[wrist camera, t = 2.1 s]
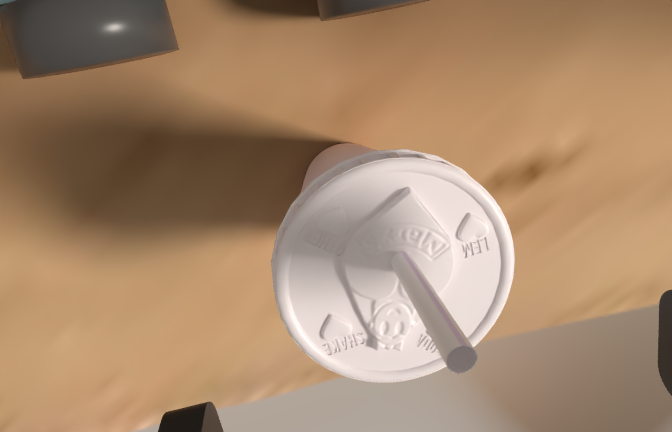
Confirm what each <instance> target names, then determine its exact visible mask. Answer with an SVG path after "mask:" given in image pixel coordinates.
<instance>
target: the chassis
mask: <svg viewBox="0 0 672 432" xmlns="http://www.w3.org/2000/svg"><path fill="white" fill-rule="evenodd" d="M425 1H429V0H317V3H318V9H319V14H320V19H321V21H327V20H335V19H341V18H347V17H353V16H358V15H363V14H369V13H374V12H379V11H384V10H388V9H393V8H398V7H403V6H407V5H412V4H416V3H420V2H425ZM0 21H1V24H2V27H3V29H4V32H5V34H6V37H7V40H8V42H9V45H10V47H11V50H12V52H13V55H14V58H15V60H16V63H17V65H18V68H19V71H20V73H21V76H22V78H23V79H31V78H39V77H46V76H53V75H59V74H65V73H71V72H77V71H83V70H88V69H94V68H99V67H104V66H110V65H115V64H120V63H125V62H130V61H135V60H140V59H144V58H149V57H153V56H158V55H162V54H166V53H170V52H174V51H177V50H179V48H178V44H177V40H176V37H175V33H174V30H173V26H172V23H171V19H170V15H169V12H168V8H167V5H166V1H165V0H0Z"/></svg>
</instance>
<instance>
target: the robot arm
mask: <svg viewBox="0 0 672 432" xmlns="http://www.w3.org/2000/svg"><path fill="white" fill-rule="evenodd" d="M658 341H659V342H658V368H659V373H660V376H661V378H662V381H663V383H664V385H665V387H666V388H667V390H668V391H669V393H670V394H671V395H672V290H669V291H666V292H665V293H664V294H663V295H662V296H661V299H660V303H659V339H658ZM158 432H223V429H222V426H221V423H220V420H219V417H218V414H217V411H216V409H215V406H214V405H213V403H212V402H206V403H202V404H198V405H194V406H190V407H185V408H181V409H177V410H173V411H169V412H166V413H165V414H164V415H163V417H162V420H161V423H160V427H159V430H158Z"/></svg>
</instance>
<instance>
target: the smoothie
mask: <svg viewBox="0 0 672 432" xmlns="http://www.w3.org/2000/svg"><path fill="white" fill-rule="evenodd" d="M514 261H515V260H514V246H513V240H512V236H511V232H510V228H509V226H508V223H507V220H506V218H505V216H504V214H503V212H502V210H501V209H500V207H499V206H498V204H497V203H496V201H495V200H494V198H493V197H492V196H491V195H490V194H489V193H488V191H487V190H486V189H484V188H483V187H482V186H481V185H480V184H479V183H478V182H477V181H475V180H474V179H473V178H471V177H470V176H469V175H468V174H467V173H466V172H465V171H464V170H463V169H461V168H459V167H458V166H456V165H454V164H452V163H450V162H448V161H446V160H444V159H442V158H440V157H439V156H437V155H432V154H427V153H423V152H418V151H413V150H408V149H396V150H381V151H378V150H375V149H372V148H368V147H365V146H361V145H358V144H352V143H343V144H337V145H334V146H331V147H329V148H327V149H325V150H323V151H322V152H321V153H319V154H318V155H317V156H316V157H315V158H314V160H313V161H312V162H311V164H310V166H309V167H308V170H307V172H306V175H305V179H304V182H303V186H302V189H301V193H300V195H299V196H298V197H297V198H296V199H295V200H294V202H293V203H292V204H291V206H290V208H289V210H288V211H287V213H286V215H285V217H284V219H283V221H282V223H281V225H280V227H279V229H278V231H277V235H276V240H275V245H274V250H273V255H272V260H271V265H272V276H273V287H274V292H275V298H276V303H277V307H278V310H279V313H280V316H281V319H282V321H283V323H284V325H285V327H286V329H287V331H288V332H289V334H290V335H291V337H292V338H293V340H294V341H295V342H296V344H297V345H298V346H299V347H300V348H301V349H302V350H303V351H304V352H305V353H306V354H307V355H308V356H309V357H311V358H312V359H313V360H314V361H316V362H317V363H319V364H320V365H322V366H324V367H325V368H327V369H329V370H331V371H333V372H335V373H338V374H340V375H343V376H346V377H349V378H353V379H357V380H362V381H369V382H398V381H405V380H410V379H415V378H418V377H422V376H425V375H428V374H431V373H433V372H436V371H438V370H440V369H442V368H444V367H446V366H447V368H448V369H449V370H450V371H452V372H454V373H465V372H467V371H469V370H470V369H472V368H473V367H474V365H475V364H476V361H477V353H476V351H475V349H474V348H473V347H474V346H476V345H477V344H478V343H479V342H480V341H481V340H482V338H483V337H484V336H485V335H486V334H487V333H488V331H489V330H490V329H491V327H492V326H493V325H494V323H495V322H496V320H497V318H498V317H499V315H500V313H501V311H502V309H503V307H504V305H505V303H506V300H507V298H508V295H509V292H510V288H511V285H512V280H513V274H514Z"/></svg>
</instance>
